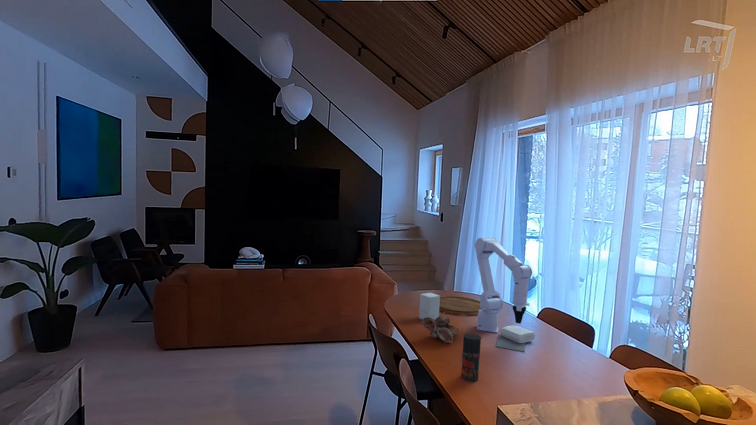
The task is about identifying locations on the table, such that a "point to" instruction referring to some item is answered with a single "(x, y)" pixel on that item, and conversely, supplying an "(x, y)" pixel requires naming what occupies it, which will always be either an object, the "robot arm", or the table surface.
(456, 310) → the cutting board
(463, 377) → the deodorant
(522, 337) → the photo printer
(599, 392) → the table surface
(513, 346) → the mat
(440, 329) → the seed pod
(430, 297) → the supplement box
